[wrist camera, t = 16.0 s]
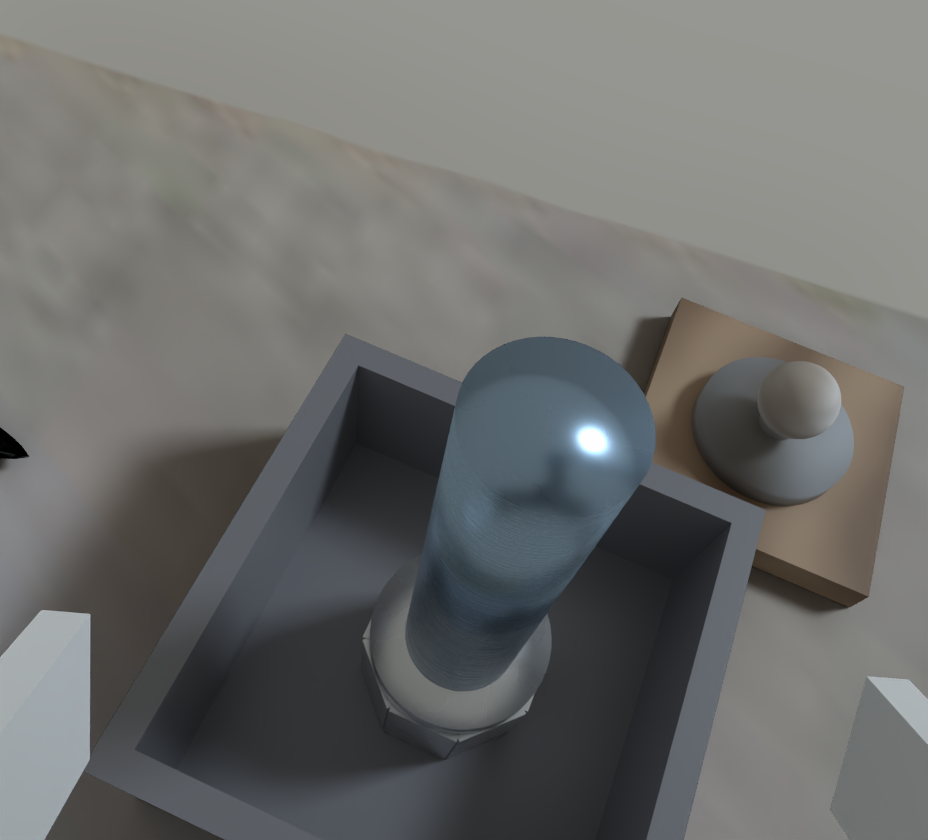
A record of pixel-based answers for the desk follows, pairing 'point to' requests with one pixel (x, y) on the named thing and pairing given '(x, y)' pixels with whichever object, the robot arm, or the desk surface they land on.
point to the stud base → (779, 443)
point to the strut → (504, 540)
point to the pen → (10, 447)
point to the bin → (348, 615)
